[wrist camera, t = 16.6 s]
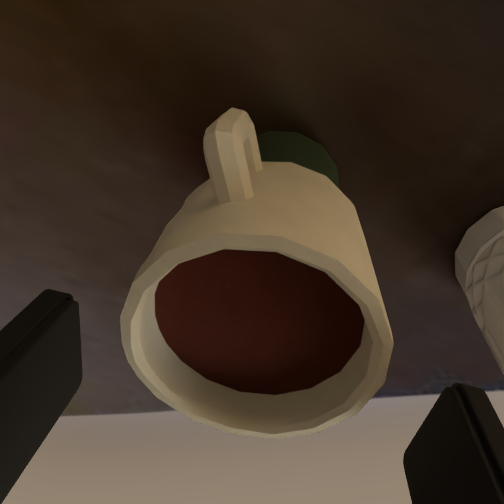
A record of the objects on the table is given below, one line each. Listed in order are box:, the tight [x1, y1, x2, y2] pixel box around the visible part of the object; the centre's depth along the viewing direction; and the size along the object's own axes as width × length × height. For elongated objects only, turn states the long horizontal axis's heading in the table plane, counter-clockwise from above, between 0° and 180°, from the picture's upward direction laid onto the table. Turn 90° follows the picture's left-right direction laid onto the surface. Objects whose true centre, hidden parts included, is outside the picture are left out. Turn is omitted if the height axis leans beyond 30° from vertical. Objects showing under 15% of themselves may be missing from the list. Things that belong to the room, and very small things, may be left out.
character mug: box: [120, 108, 394, 439], centre depth 15 cm, size 11×7×13 cm, turn 12°
